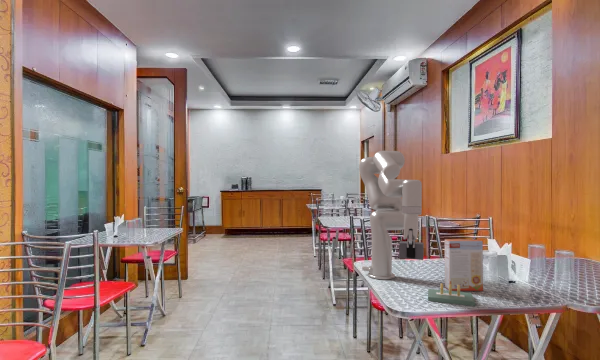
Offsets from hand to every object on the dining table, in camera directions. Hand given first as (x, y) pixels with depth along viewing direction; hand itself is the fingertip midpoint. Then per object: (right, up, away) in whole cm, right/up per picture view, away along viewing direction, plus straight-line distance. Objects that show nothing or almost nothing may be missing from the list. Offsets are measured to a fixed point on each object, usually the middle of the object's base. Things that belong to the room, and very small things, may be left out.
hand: (411, 256), depth 145 cm
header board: (+14, -15, -5) cm, 21 cm away
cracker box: (+25, -16, +9) cm, 31 cm away
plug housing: (0, -1, 0) cm, 1 cm away
